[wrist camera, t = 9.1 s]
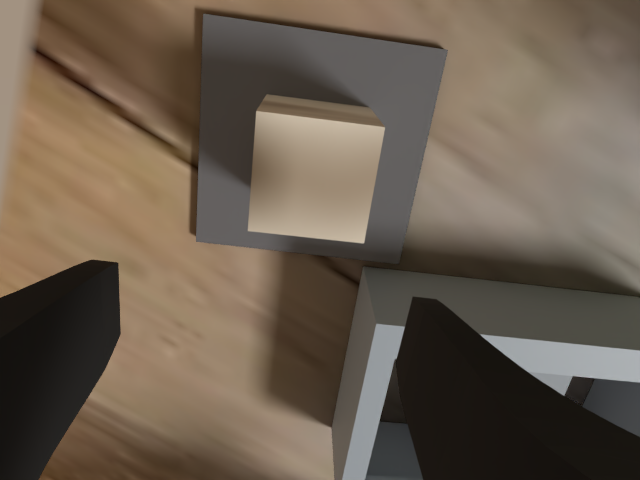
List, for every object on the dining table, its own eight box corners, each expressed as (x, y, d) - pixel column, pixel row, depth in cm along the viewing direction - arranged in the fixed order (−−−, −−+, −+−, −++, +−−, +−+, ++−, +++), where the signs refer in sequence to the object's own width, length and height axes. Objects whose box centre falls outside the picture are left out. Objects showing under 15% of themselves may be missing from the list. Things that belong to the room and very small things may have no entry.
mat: (397, 260, 21) (398, 264, 21) (198, 237, 21) (196, 241, 20) (445, 49, 18) (447, 50, 17) (205, 13, 17) (203, 13, 17)
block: (353, 204, 20) (364, 243, 16) (258, 193, 20) (247, 230, 16) (369, 107, 18) (385, 126, 15) (266, 94, 18) (255, 110, 14)
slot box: (576, 449, 27) (625, 527, 22) (331, 428, 26) (336, 507, 21) (649, 298, 23) (727, 359, 18) (363, 266, 22) (376, 323, 17)
